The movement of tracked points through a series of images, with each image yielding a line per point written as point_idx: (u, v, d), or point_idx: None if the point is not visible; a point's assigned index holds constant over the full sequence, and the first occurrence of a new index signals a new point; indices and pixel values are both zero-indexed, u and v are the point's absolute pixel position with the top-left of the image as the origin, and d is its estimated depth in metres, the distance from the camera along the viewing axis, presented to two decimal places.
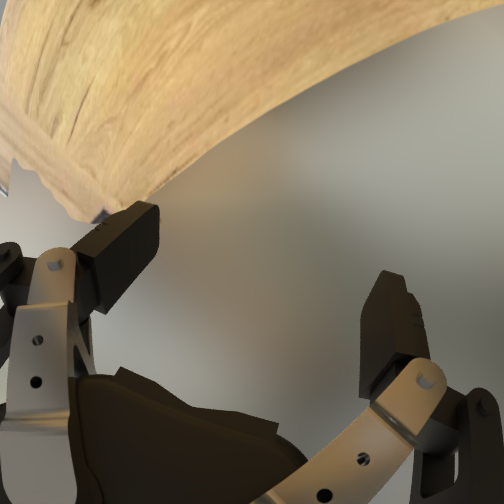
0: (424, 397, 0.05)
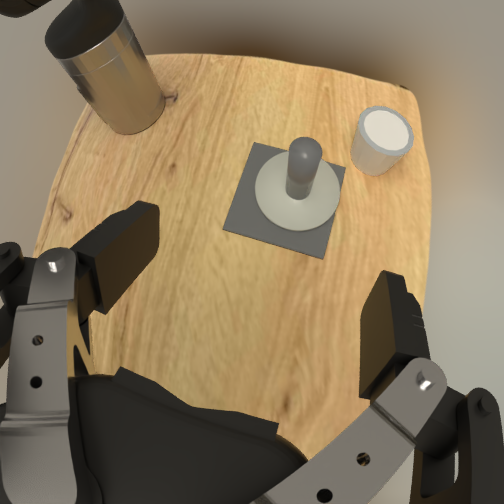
0: (424, 397, 0.05)
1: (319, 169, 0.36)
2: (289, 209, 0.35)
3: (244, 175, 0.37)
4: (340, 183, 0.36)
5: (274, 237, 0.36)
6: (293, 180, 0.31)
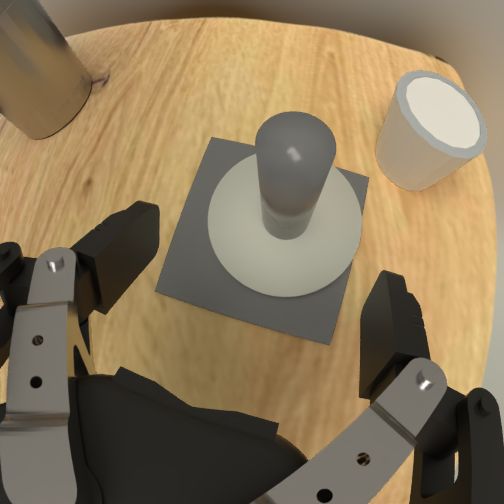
0: (424, 397, 0.05)
1: (324, 181, 0.20)
2: (269, 258, 0.19)
3: (192, 195, 0.21)
4: (361, 205, 0.21)
5: (243, 308, 0.20)
6: (273, 210, 0.15)
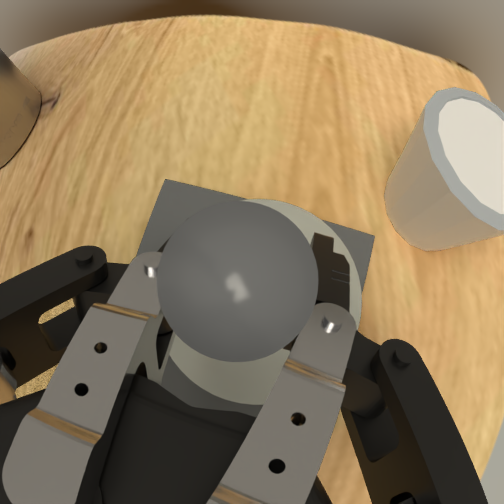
0: (324, 337, 0.07)
1: None
2: None
3: None
4: (362, 277, 0.15)
5: None
6: None
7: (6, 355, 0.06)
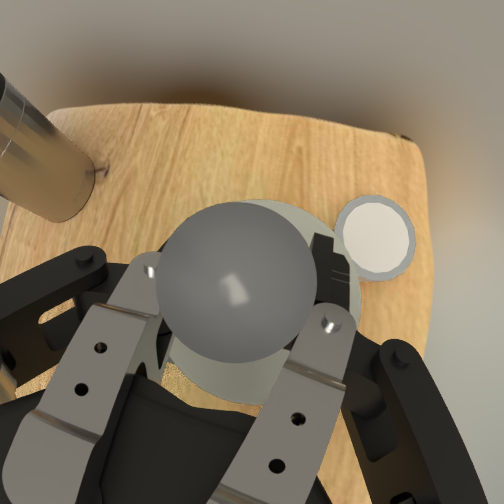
0: (324, 337, 0.07)
1: None
2: None
3: None
4: None
5: None
6: None
7: (6, 355, 0.06)
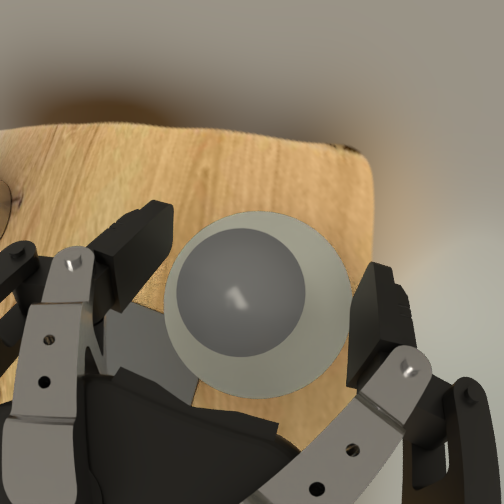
0: (408, 384, 0.06)
1: (308, 256, 0.16)
2: None
3: None
4: None
5: None
6: None
7: None
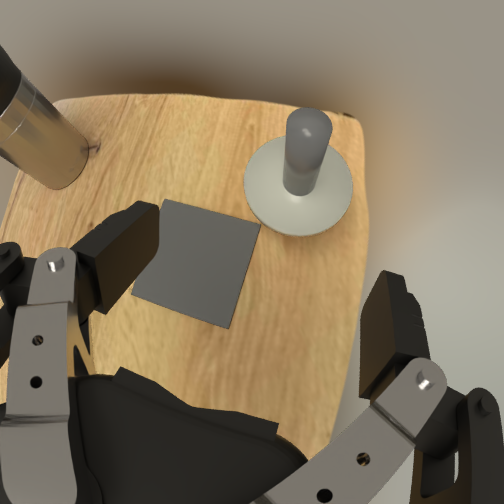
0: (424, 397, 0.05)
1: (325, 157, 0.28)
2: (288, 208, 0.27)
3: None
4: (252, 243, 0.35)
5: (178, 305, 0.34)
6: (293, 169, 0.23)
7: None
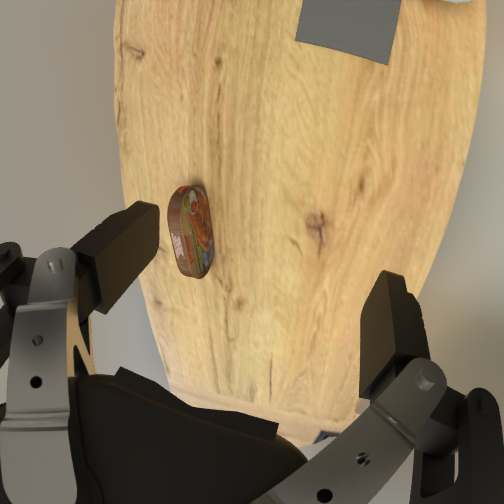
0: (424, 397, 0.05)
1: None
2: None
3: None
4: (399, 1, 0.25)
5: (342, 45, 0.31)
6: None
7: None
